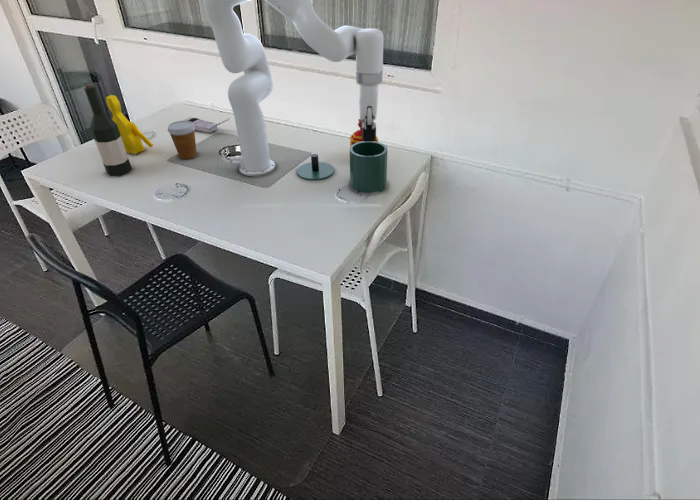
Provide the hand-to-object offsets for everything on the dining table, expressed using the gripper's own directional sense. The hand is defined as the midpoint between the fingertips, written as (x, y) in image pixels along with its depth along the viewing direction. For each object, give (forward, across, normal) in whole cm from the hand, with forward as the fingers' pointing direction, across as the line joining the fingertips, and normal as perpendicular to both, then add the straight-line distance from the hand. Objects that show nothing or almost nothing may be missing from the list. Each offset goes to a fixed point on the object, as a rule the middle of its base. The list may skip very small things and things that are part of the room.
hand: (368, 137), depth 140 cm
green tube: (+17, 0, 0) cm, 17 cm away
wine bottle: (+17, -12, -88) cm, 90 cm away
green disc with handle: (+16, -9, -18) cm, 26 cm away
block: (0, 0, 0) cm, 0 cm away
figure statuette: (+17, -28, -89) cm, 95 cm away
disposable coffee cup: (+17, -24, -67) cm, 73 cm away
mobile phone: (+13, -49, -67) cm, 84 cm away
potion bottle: (+17, -19, -1) cm, 26 cm away
